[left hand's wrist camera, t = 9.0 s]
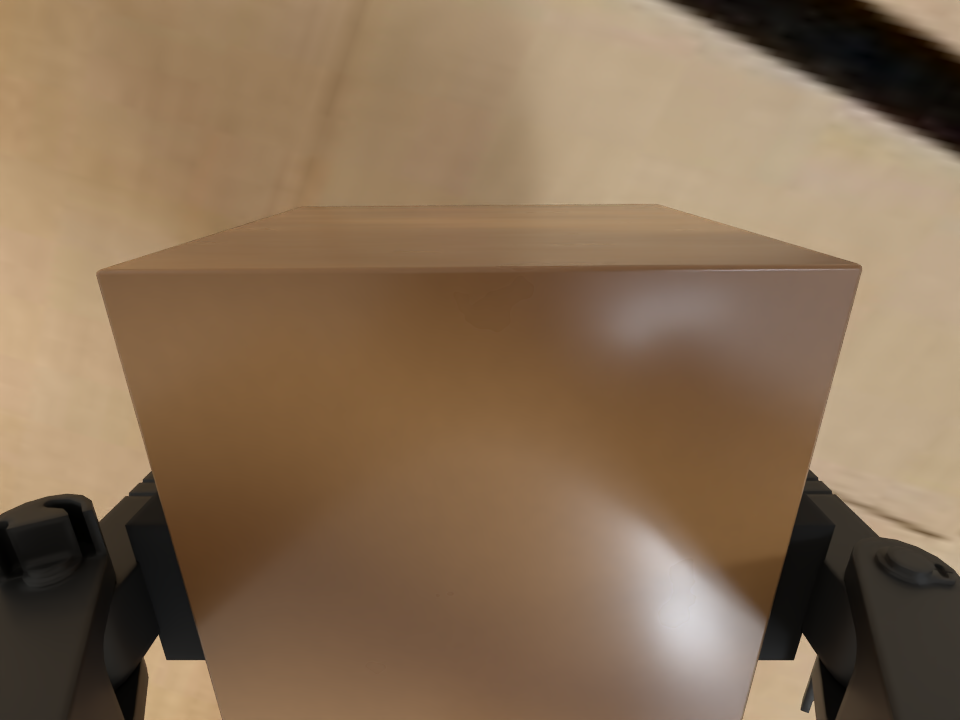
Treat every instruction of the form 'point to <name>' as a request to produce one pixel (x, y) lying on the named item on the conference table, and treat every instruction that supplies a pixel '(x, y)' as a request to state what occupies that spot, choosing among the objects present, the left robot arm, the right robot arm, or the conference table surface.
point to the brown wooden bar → (481, 453)
